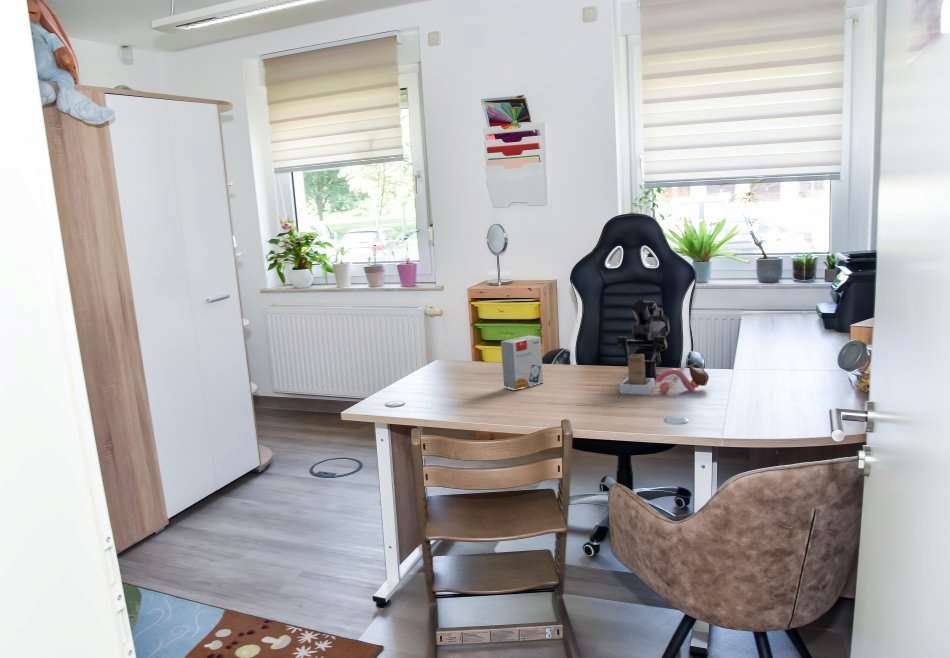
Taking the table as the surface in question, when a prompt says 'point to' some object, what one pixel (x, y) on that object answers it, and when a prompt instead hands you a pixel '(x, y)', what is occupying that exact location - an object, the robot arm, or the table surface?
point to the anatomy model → (696, 374)
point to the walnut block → (636, 369)
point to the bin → (637, 387)
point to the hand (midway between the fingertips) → (638, 361)
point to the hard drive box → (522, 361)
